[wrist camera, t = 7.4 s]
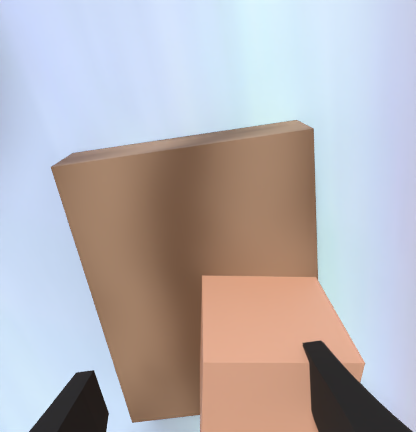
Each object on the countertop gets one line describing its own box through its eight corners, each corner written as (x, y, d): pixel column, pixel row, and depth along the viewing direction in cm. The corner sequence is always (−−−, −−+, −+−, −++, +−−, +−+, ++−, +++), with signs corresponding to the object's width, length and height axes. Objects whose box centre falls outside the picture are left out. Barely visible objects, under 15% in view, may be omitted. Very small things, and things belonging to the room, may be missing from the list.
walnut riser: (296, 119, 15) (313, 128, 13) (307, 363, 21) (321, 400, 18) (72, 153, 16) (50, 167, 13) (139, 384, 21) (132, 422, 19)
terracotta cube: (315, 276, 16) (365, 363, 11) (301, 364, 17) (338, 469, 13) (202, 275, 15) (203, 362, 11) (200, 363, 17) (200, 470, 13)
